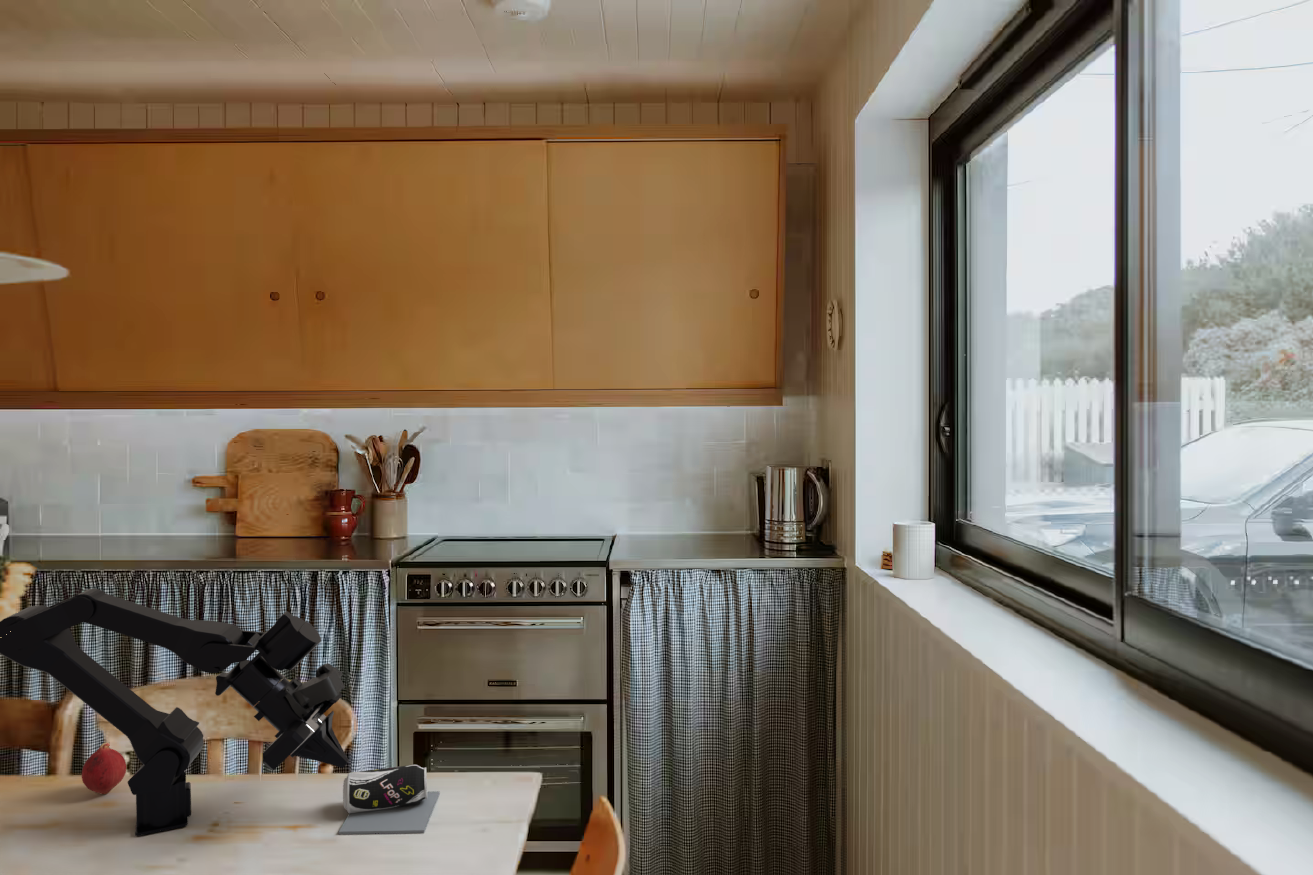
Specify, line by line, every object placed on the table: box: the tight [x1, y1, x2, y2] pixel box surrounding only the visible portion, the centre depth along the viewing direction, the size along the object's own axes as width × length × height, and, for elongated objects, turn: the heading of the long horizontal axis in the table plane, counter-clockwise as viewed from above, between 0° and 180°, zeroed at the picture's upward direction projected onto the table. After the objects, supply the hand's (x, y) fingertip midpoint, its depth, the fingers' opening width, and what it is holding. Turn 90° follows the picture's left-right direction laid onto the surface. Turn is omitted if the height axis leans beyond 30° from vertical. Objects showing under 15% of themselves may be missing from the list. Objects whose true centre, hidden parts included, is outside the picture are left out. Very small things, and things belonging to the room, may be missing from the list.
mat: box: [338, 790, 441, 835], centre depth 130 cm, size 12×12×1 cm
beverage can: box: [342, 764, 428, 814], centre depth 131 cm, size 6×6×12 cm
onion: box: [81, 742, 127, 795], centre depth 134 cm, size 6×6×8 cm
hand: (345, 764), depth 129 cm, fingers closed
